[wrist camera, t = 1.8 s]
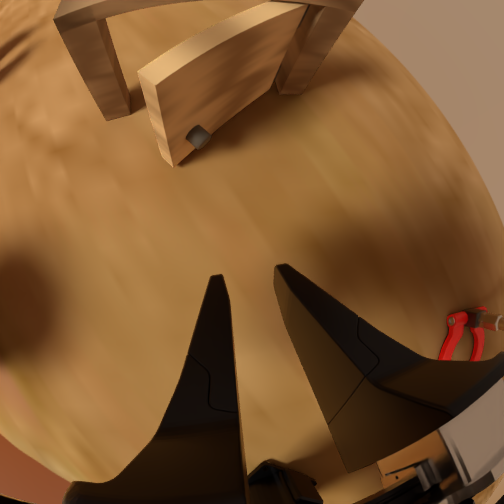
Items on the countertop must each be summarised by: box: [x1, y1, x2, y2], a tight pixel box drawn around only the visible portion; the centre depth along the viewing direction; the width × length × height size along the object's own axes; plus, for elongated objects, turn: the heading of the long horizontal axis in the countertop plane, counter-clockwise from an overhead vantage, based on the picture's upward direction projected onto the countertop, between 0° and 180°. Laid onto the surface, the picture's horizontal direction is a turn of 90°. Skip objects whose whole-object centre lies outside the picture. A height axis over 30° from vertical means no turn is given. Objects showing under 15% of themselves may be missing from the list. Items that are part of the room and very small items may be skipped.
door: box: [137, 0, 310, 168], centre depth 14 cm, size 11×2×10 cm, turn 137°
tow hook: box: [438, 306, 504, 361], centre depth 17 cm, size 8×13×9 cm
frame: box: [53, 0, 364, 121], centre depth 14 cm, size 16×2×11 cm, turn 102°
